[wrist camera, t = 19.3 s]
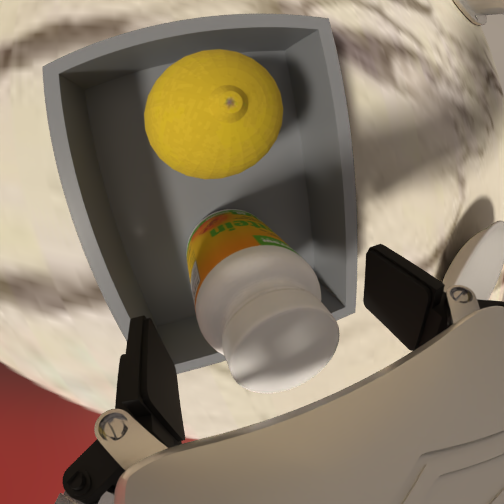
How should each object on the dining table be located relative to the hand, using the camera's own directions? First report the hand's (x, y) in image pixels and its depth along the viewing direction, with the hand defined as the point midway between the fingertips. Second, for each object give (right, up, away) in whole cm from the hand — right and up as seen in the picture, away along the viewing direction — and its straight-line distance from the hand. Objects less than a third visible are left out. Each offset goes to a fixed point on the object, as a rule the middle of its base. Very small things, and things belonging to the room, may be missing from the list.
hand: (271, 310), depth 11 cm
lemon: (-4, +10, +3) cm, 11 cm away
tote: (-3, +6, +6) cm, 9 cm away
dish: (+25, 0, +17) cm, 30 cm away
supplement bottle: (-2, +3, +7) cm, 8 cm away
